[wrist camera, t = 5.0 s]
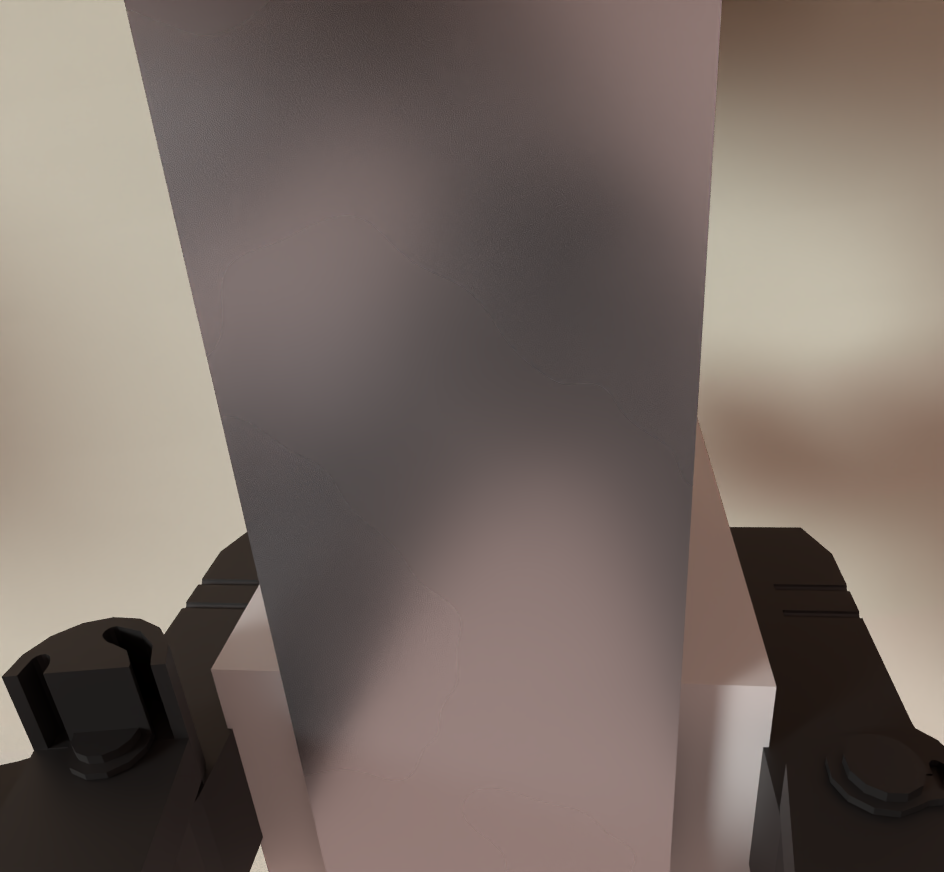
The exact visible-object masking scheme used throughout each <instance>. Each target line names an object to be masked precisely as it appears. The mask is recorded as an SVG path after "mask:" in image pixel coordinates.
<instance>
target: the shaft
mask: <svg viewBox="0 0 944 872" xmlns="http://www.w3.org/2000/svg"><path fill="white" fill-rule="evenodd" d="M124 2H125V7H126V11H127V15H128V20H129V24H130V28H131V32H132V37H133V41H134V45H135V50H136V54H137V58H138V63H139V67H140V71H141V76H142V80H143V84H144V88H145V93H146V97H147V101H148V106H149V110H150V114H151V119H152V123H153V127H154V132H155V136H156V140H157V144H158V149H159V153H160V157H161V162H162V166H163V170H164V175H165V179H166V183H167V188H168V192H169V196H170V201H171V205H172V209H173V213H174V218H175V222H176V226H177V231H178V235H179V239H180V244H181V248H182V252H183V257H184V261H185V265H186V269H187V274H188V278H189V282H190V287H191V291H192V295H193V300H194V304H195V308H196V313H197V317H198V321H199V326H200V330H201V334H202V338H203V343H204V347H205V351H206V356H207V360H208V364H209V369H210V373H211V377H212V382H213V386H214V390H215V394H216V399H217V403H218V407H219V412H220V416H221V420H222V425H223V429H224V433H225V438H226V442H227V446H228V451H229V455H230V459H231V463H232V468H233V472H234V476H235V481H236V485H237V489H238V494H239V498H240V502H241V507H242V511H243V515H244V519H245V524H246V528H247V532H248V537H249V541H250V545H251V550H252V554H253V558H254V563H255V567H256V571H257V575H258V580H259V584H260V588H261V593H262V597H263V601H264V606H265V610H266V614H267V619H268V623H269V627H270V632H271V636H272V640H273V644H274V649H275V653H276V657H277V662H278V666H279V670H280V675H281V679H282V683H283V688H284V692H285V696H286V700H287V705H288V709H289V713H290V718H291V722H292V726H293V731H294V735H295V739H296V744H297V748H298V752H299V757H300V761H301V765H302V769H303V774H304V778H305V782H306V787H307V791H308V795H309V800H310V804H311V808H312V813H313V817H314V821H315V825H316V830H317V834H318V838H319V843H320V847H321V851H322V856H323V860H324V864H325V869H326V872H670V859H671V843H672V826H673V809H674V793H675V776H676V759H677V743H678V726H679V709H680V693H681V676H682V659H683V643H684V626H685V609H686V593H687V576H688V559H689V543H690V526H691V509H692V493H693V476H694V459H695V443H696V426H697V409H698V392H699V376H700V359H701V342H702V326H703V309H704V292H705V276H706V259H707V242H708V226H709V209H710V192H711V176H712V159H713V142H714V126H715V109H716V92H717V76H718V59H719V42H720V26H721V9H722V0H124Z"/></svg>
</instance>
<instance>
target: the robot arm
mask: <svg viewBox="0 0 944 872" xmlns="http://www.w3.org/2000/svg"><path fill="white" fill-rule="evenodd" d="M186 604H187V605H186V608H182V609H181V611H180V612H179V614H178V615H177V617H176V618H175V620H174V621H173V622H172V624H171V625H170V627H169V628H168V630H167V631H166V633H165V634H163V633H162V631H161V629H160V628H159V627H157V626H155V625H153V624H151V623H149V622H146V621H144V620H142V619H136V618H117V617H113V618H107V619H102V620H97V621H92V622H87V623H82V624H80V625H77V626H75V627H72V628H70V629H67V630H65V631H63V632H60V633H58V634H55V635H53V636H51V637H49V638H48V639H46V640H44V641H43V642H41V643H40V644H38V645H37V646H35V647H34V648H32V649H31V650H29V651H28V652H26V653H25V654H23V655H22V656H21V657H20V658H19V659H18V660H17V661H16V662H15V663H14V665H13V666H12V667H11V668H10V669H9V670H8V671H7V672H6V673H5V674H4V675H3V676H2V679H3V681H4V683H5V685H6V688H7V690H8V692H9V694H10V697H11V699H12V701H13V704H14V706H15V708H16V710H17V713H18V715H19V717H20V719H21V722H22V724H23V726H24V729H25V731H26V733H27V735H28V738H29V740H30V742H31V744H32V747H33V749H34V752H33V754H32V755H31V757H30V758H28V759H25V760H21V761H18V762H13V763H9V764H4V765H0V872H250V869H251V867H252V864H253V862H254V859H255V856H256V854H257V851H258V849H259V846H260V844H261V847H262V850H263V854H264V857H265V861H266V864H267V868H268V871H269V872H326V869H325V864H324V860H323V856H322V851H321V847H320V843H319V838H318V834H317V830H316V825H315V821H314V817H313V813H312V808H311V804H310V800H309V795H308V791H307V787H306V782H305V778H304V774H303V769H302V765H301V761H300V757H299V752H298V748H297V744H296V739H295V735H294V731H293V726H292V722H291V718H290V713H289V709H288V705H287V700H286V696H285V692H284V688H283V683H282V679H281V675H280V670H279V666H278V662H277V657H276V653H275V649H274V644H273V640H272V636H271V632H270V627H269V623H268V619H267V614H266V610H265V606H264V601H263V597H262V593H261V588H260V584H259V580H258V575H257V571H256V567H255V563H254V558H253V554H252V550H251V545H250V541H249V537H248V532H246V533H245V534H244V535H242V536H241V537H240V538H238V539H237V540H236V541H234V542H233V543H232V544H230V545H229V546H228V547H226V548H225V549H224V550H222V551H221V552H220V553H219V555H218V556H217V558H216V559H215V561H214V562H213V564H212V565H211V567H210V568H209V570H208V571H207V573H206V574H205V576H204V577H203V578H202V585H198V586H197V587H196V589H195V590H194V592H193V593H192V595H191V596H190V598H189V599H188V600H187V602H186ZM670 872H944V746H943V745H942V744H941V743H940V742H939V741H938V740H936V739H934V738H933V737H931V736H929V735H927V734H925V733H923V732H921V731H919V730H918V729H916V728H915V727H914V726H913V724H912V722H911V720H910V718H909V716H908V714H907V712H906V710H905V707H904V705H903V703H902V701H901V699H900V697H899V695H898V693H897V691H896V688H895V686H894V684H893V682H892V680H891V678H890V676H889V674H888V672H887V669H886V667H885V665H884V663H883V661H882V659H881V657H880V655H879V652H878V650H877V648H876V646H875V644H874V642H873V640H872V638H871V636H870V633H869V631H868V629H867V627H866V625H865V623H864V621H863V619H862V618H859V610H858V608H857V606H856V604H855V602H854V600H853V597H852V595H851V593H850V591H847V585H846V583H845V581H844V578H843V576H842V574H841V572H840V570H839V568H838V566H837V564H836V561H835V559H834V557H833V555H832V554H831V553H830V552H829V551H828V550H827V549H825V548H824V547H823V546H822V545H821V544H820V543H818V542H817V541H816V540H815V539H814V538H812V537H811V536H810V535H809V534H808V533H806V532H805V531H804V530H803V529H802V528H775V527H729V524H728V520H727V517H726V514H725V510H724V507H723V503H722V500H721V497H720V493H719V490H718V486H717V483H716V480H715V476H714V473H713V469H712V466H711V463H710V459H709V456H708V452H707V449H706V446H705V442H704V439H703V435H702V432H701V429H700V425H699V422H698V418H697V426H696V443H695V459H694V476H693V493H692V509H691V526H690V543H689V559H688V576H687V593H686V609H685V626H684V643H683V659H682V676H681V693H680V709H679V726H678V743H677V759H676V776H675V793H674V809H673V826H672V843H671V859H670Z"/></svg>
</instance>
